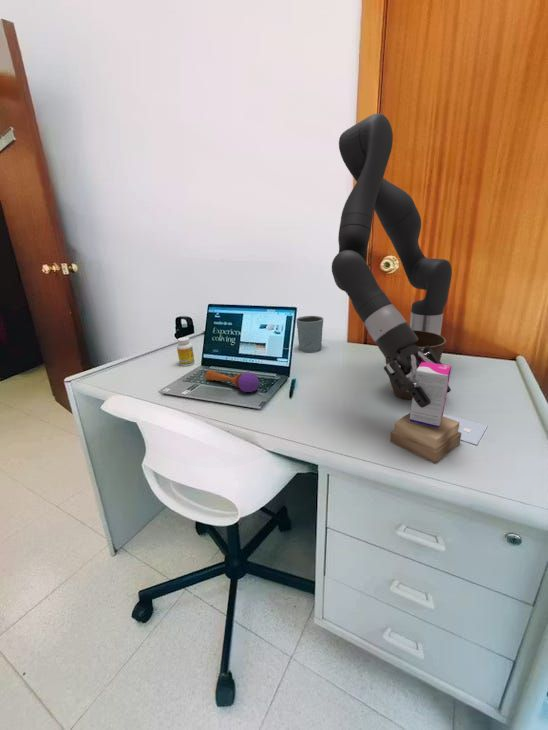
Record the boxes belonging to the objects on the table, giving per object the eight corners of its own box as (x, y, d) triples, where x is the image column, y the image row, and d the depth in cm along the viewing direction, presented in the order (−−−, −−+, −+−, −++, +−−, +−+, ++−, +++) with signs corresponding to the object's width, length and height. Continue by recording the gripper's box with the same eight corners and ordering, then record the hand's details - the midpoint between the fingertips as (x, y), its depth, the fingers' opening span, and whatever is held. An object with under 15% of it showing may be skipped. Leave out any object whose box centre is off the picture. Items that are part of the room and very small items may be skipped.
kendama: (215, 364, 113) (262, 372, 101) (216, 382, 114) (263, 391, 102) (201, 367, 108) (249, 375, 96) (202, 386, 109) (249, 396, 97)
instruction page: (432, 411, 85) (432, 410, 85) (487, 426, 77) (487, 425, 77) (418, 427, 79) (418, 425, 79) (476, 445, 71) (477, 444, 71)
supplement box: (440, 428, 67) (448, 375, 63) (408, 421, 70) (414, 370, 66) (444, 415, 72) (452, 364, 68) (414, 409, 75) (420, 360, 71)
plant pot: (396, 378, 104) (400, 326, 98) (447, 391, 94) (455, 335, 88) (369, 395, 95) (372, 339, 89) (423, 412, 85) (430, 351, 79)
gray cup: (296, 353, 130) (294, 322, 126) (298, 344, 139) (297, 315, 135) (323, 353, 128) (322, 321, 124) (323, 344, 138) (323, 315, 133)
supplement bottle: (180, 362, 128) (175, 337, 125) (194, 360, 129) (191, 335, 125) (179, 367, 123) (175, 341, 120) (194, 365, 124) (191, 339, 121)
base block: (415, 424, 80) (417, 405, 78) (459, 443, 72) (463, 422, 71) (390, 441, 74) (391, 421, 72) (434, 463, 67) (437, 441, 65)
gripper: (380, 328, 66) (432, 404, 61) (421, 314, 74) (469, 380, 69) (357, 348, 72) (403, 418, 67) (397, 333, 80) (440, 395, 75)
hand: (436, 399), depth 68 cm, fingers closed on supplement box, 7 cm apart
